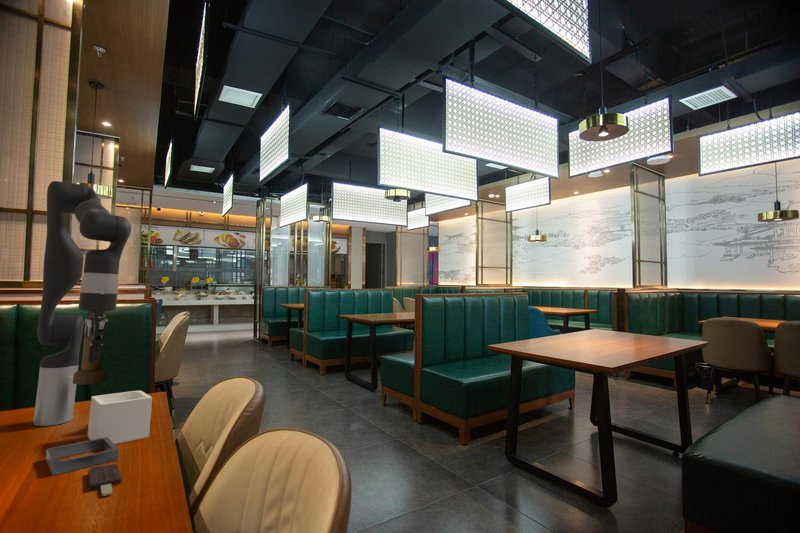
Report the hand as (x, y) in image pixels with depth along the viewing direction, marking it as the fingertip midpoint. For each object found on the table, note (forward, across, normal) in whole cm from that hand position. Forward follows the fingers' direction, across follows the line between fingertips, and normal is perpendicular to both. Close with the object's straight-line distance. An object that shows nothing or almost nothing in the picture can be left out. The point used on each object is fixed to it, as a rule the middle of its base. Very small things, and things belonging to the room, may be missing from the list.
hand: (92, 360), depth 96 cm
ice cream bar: (+24, +18, +1) cm, 30 cm away
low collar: (+24, 0, 0) cm, 24 cm away
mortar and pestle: (+6, 0, 0) cm, 6 cm away
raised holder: (+24, -13, +10) cm, 29 cm away
